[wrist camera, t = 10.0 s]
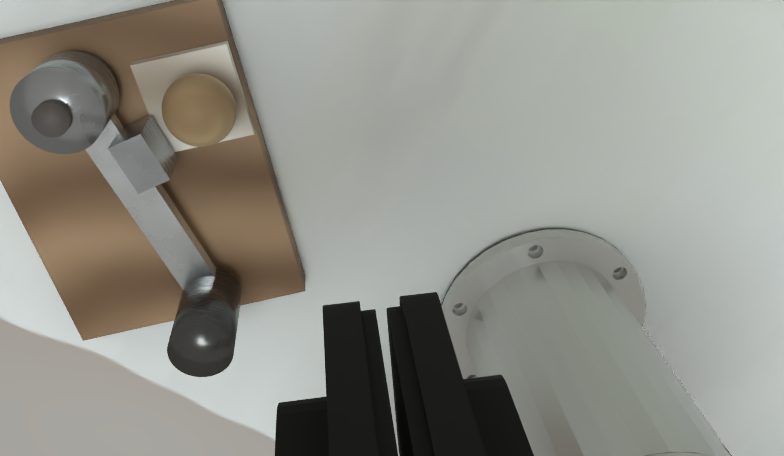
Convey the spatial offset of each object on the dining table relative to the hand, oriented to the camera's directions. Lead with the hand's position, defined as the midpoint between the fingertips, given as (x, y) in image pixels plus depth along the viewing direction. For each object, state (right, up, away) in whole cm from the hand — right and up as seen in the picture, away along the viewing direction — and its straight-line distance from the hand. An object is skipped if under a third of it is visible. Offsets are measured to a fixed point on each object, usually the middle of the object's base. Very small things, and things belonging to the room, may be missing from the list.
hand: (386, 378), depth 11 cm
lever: (-12, +4, +24) cm, 27 cm away
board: (-12, +5, +26) cm, 29 cm away
